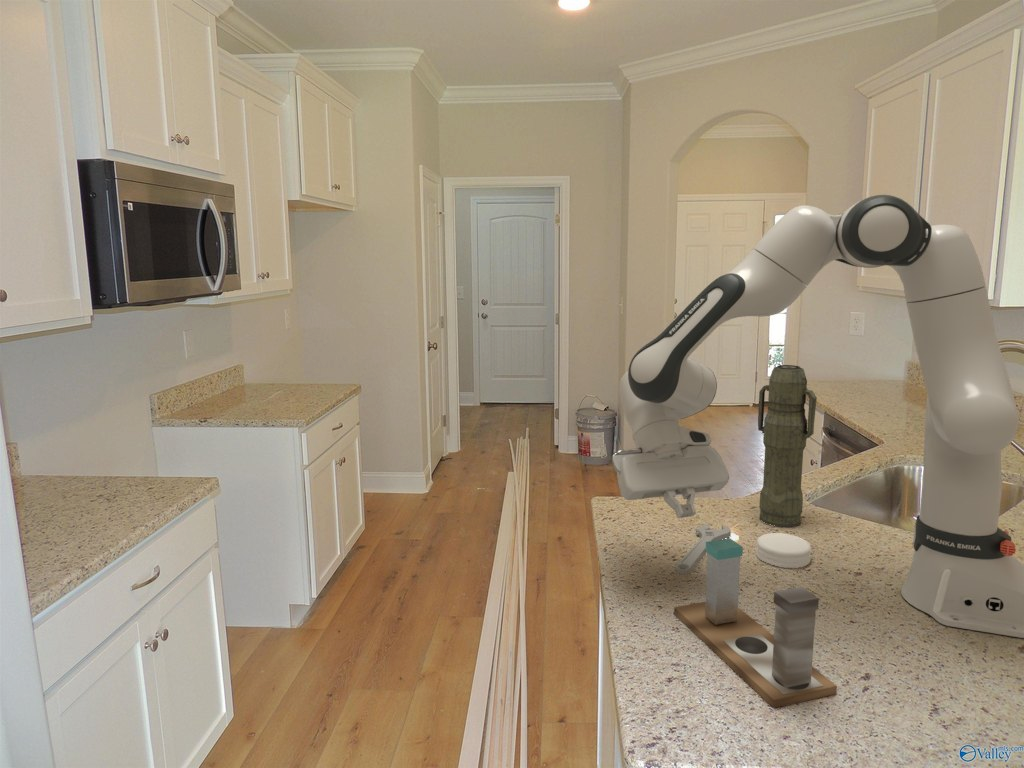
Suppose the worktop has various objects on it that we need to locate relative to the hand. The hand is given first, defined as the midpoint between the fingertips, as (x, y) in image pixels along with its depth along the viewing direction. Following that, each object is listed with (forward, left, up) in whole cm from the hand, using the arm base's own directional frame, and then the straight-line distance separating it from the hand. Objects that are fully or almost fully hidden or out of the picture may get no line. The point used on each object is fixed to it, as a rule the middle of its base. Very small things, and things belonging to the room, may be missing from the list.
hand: (687, 515), depth 120 cm
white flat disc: (-11, -25, -15) cm, 32 cm away
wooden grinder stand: (-14, +12, -15) cm, 23 cm away
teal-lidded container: (-9, +7, -13) cm, 17 cm away
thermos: (-6, -45, -15) cm, 48 cm away
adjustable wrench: (+4, -21, -15) cm, 26 cm away
